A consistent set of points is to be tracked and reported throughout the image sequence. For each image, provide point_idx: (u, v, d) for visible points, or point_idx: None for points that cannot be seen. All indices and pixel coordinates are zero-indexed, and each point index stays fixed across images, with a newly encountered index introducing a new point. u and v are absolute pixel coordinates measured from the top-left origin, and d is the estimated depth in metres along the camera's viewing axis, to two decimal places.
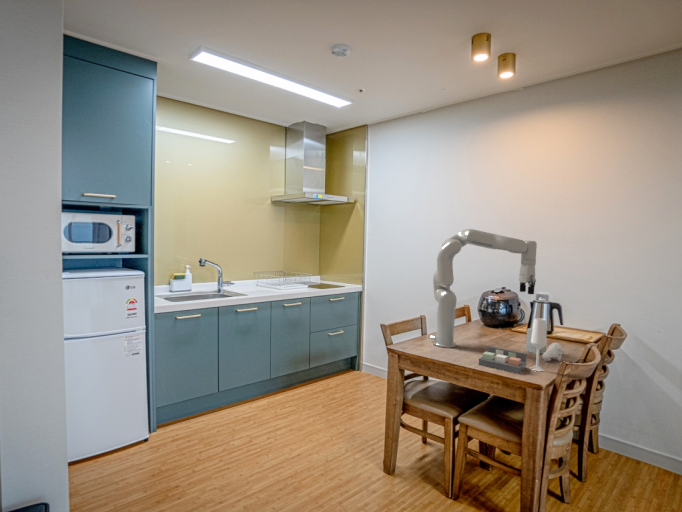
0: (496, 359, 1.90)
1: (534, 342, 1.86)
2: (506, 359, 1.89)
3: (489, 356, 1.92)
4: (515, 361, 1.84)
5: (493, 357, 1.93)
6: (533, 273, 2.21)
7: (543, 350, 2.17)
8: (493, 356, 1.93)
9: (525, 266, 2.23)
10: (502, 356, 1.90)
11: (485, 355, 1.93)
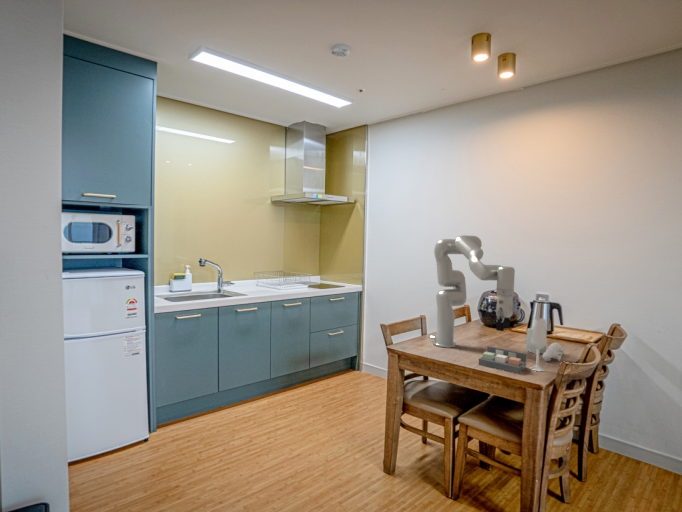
0: (496, 359, 1.90)
1: (534, 342, 1.86)
2: (506, 359, 1.89)
3: (489, 356, 1.92)
4: (515, 361, 1.84)
5: (493, 357, 1.93)
6: None
7: (543, 350, 2.17)
8: (493, 356, 1.93)
9: (511, 297, 1.89)
10: (502, 356, 1.90)
11: (485, 355, 1.93)
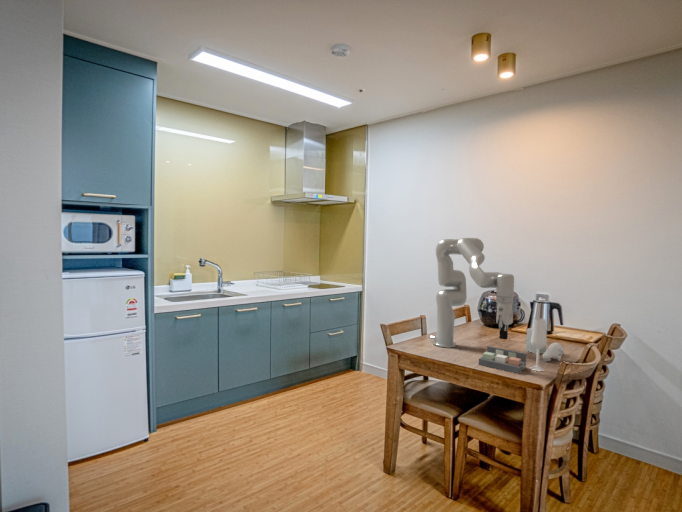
0: (496, 359, 1.90)
1: (534, 342, 1.86)
2: (506, 359, 1.89)
3: (489, 356, 1.92)
4: (515, 361, 1.84)
5: (493, 357, 1.93)
6: None
7: (543, 350, 2.17)
8: (493, 356, 1.93)
9: (511, 304, 1.89)
10: (502, 356, 1.90)
11: (485, 355, 1.93)
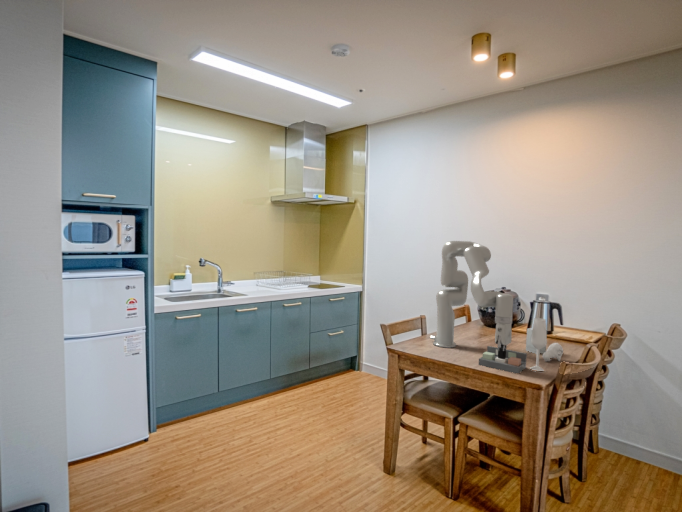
0: None
1: (534, 342, 1.86)
2: (506, 361, 1.89)
3: (489, 356, 1.92)
4: (515, 361, 1.84)
5: (493, 357, 1.93)
6: None
7: (543, 350, 2.17)
8: (493, 356, 1.93)
9: (510, 324, 1.90)
10: None
11: (485, 355, 1.93)
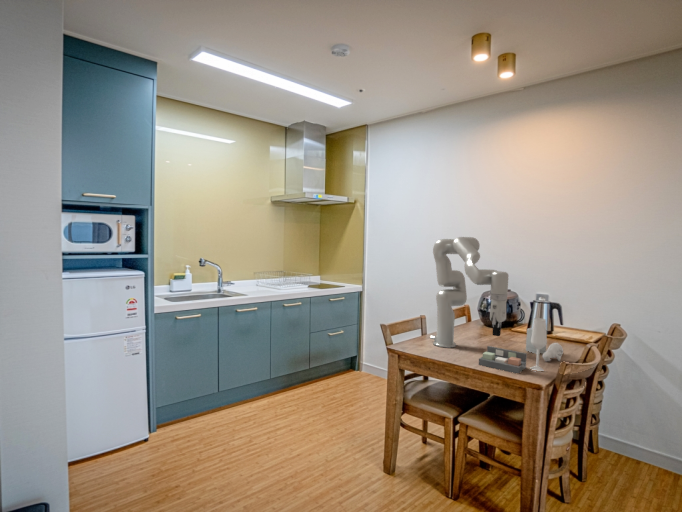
0: None
1: (534, 342, 1.86)
2: (506, 362, 1.89)
3: (489, 356, 1.92)
4: (515, 361, 1.84)
5: (493, 357, 1.93)
6: None
7: (543, 350, 2.17)
8: (493, 356, 1.93)
9: (505, 301, 1.91)
10: (502, 359, 1.90)
11: (485, 355, 1.93)
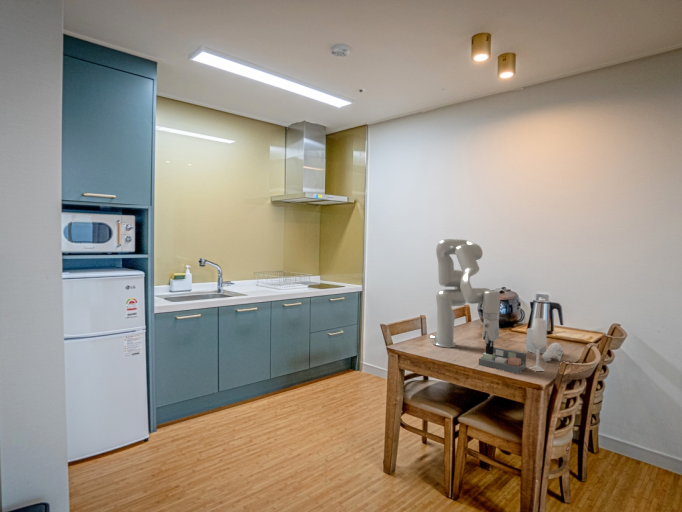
0: None
1: (534, 342, 1.86)
2: (506, 362, 1.89)
3: (489, 356, 1.92)
4: (515, 361, 1.84)
5: (493, 357, 1.93)
6: None
7: (543, 350, 2.17)
8: (493, 356, 1.93)
9: (497, 320, 1.94)
10: (502, 359, 1.90)
11: (485, 355, 1.93)
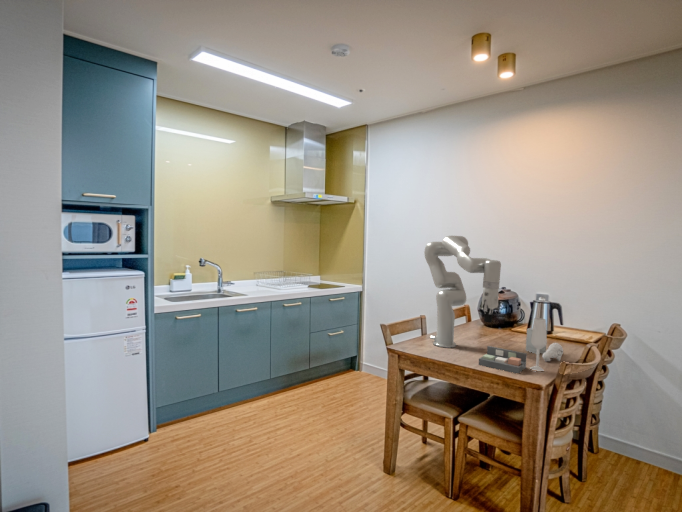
0: None
1: (534, 342, 1.86)
2: (506, 362, 1.89)
3: (489, 359, 1.92)
4: (515, 361, 1.84)
5: None
6: None
7: (543, 350, 2.17)
8: (493, 359, 1.93)
9: (497, 289, 1.97)
10: (502, 359, 1.90)
11: (485, 358, 1.93)
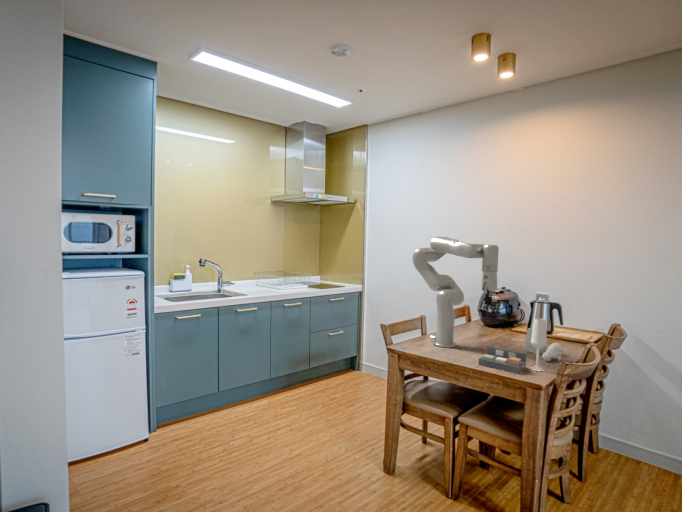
0: None
1: (534, 342, 1.86)
2: (506, 362, 1.89)
3: (489, 359, 1.92)
4: (515, 361, 1.84)
5: None
6: None
7: (543, 350, 2.17)
8: (493, 359, 1.93)
9: (496, 273, 2.06)
10: (502, 359, 1.90)
11: (485, 358, 1.93)
